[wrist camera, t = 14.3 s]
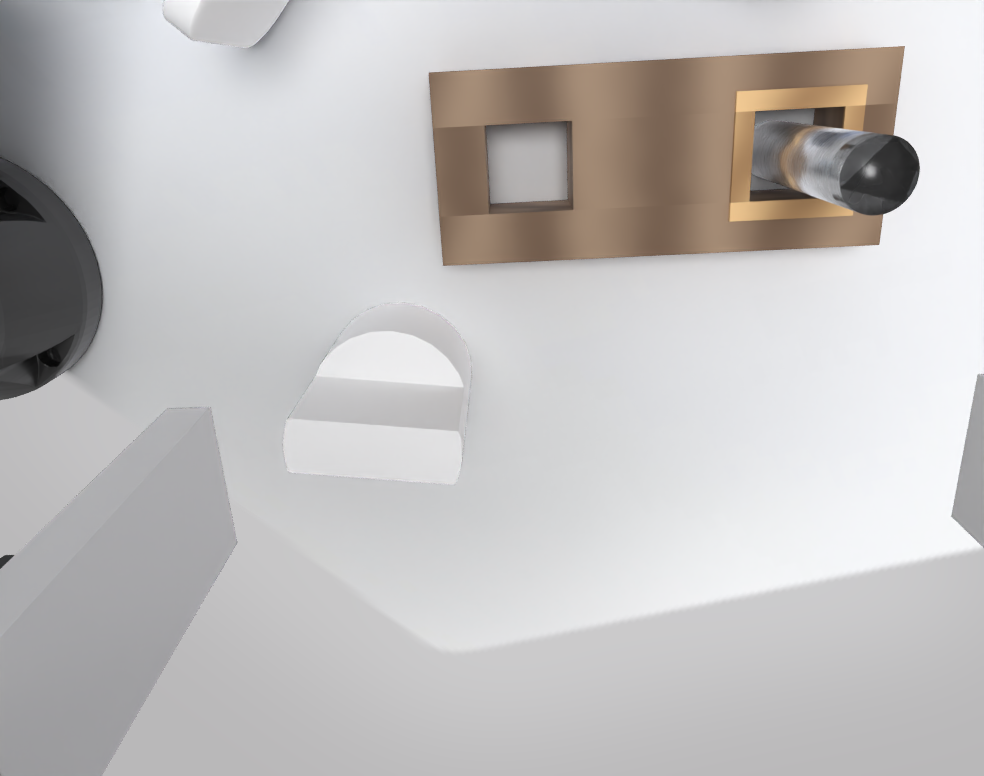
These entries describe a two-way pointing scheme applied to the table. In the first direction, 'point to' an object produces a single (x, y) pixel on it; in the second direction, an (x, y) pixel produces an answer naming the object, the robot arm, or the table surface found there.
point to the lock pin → (837, 164)
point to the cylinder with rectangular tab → (385, 401)
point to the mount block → (653, 154)
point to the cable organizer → (224, 19)
